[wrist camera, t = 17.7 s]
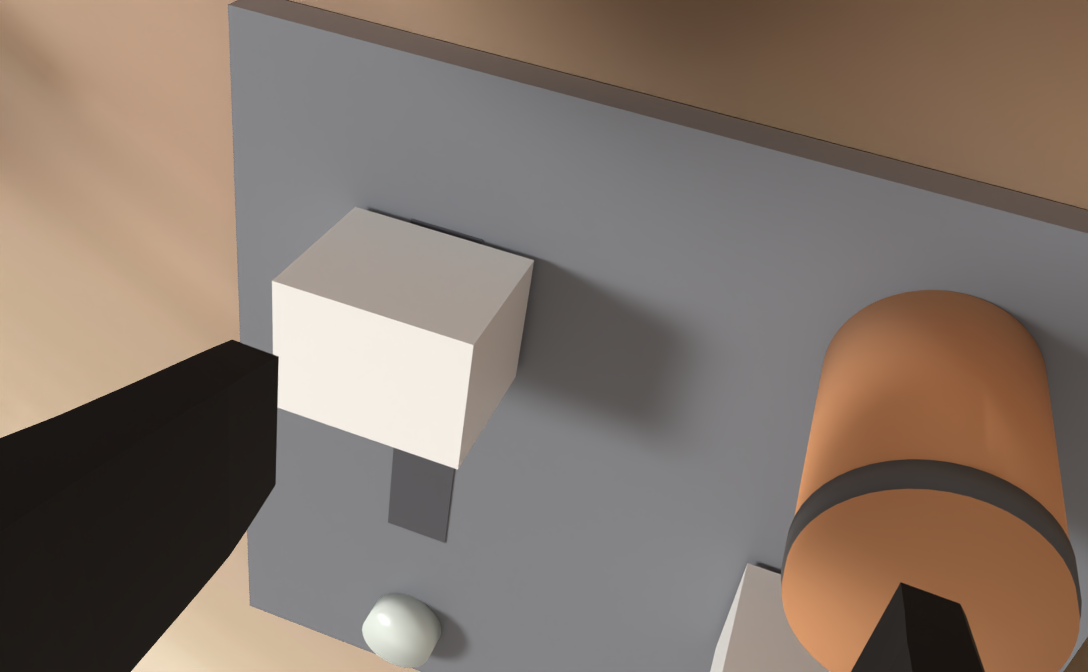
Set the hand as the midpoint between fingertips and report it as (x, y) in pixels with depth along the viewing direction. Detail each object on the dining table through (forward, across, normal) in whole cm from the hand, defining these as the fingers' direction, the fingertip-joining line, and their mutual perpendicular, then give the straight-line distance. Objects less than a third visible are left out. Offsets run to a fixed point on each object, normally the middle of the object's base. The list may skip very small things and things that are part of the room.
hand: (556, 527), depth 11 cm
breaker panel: (+10, 0, +8) cm, 13 cm away
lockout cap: (+9, -5, +2) cm, 11 cm away
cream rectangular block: (+9, +5, +4) cm, 11 cm away
